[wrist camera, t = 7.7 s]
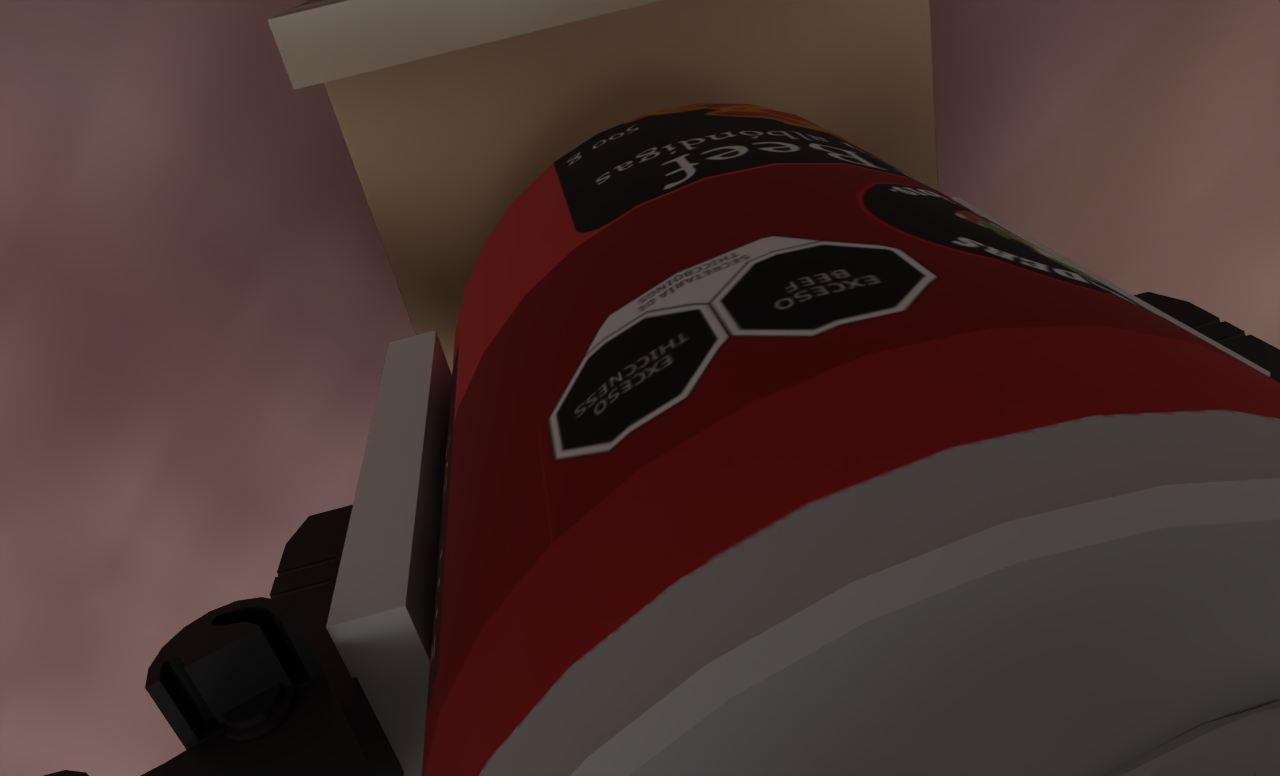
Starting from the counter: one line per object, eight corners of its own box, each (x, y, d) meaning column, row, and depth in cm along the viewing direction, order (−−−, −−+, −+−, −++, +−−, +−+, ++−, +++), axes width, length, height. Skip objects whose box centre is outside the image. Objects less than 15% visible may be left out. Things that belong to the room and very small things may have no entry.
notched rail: (308, 1, 16) (267, 20, 13) (894, -139, 16) (989, -154, 13) (605, 828, 28) (620, 942, 24) (945, 732, 28) (1003, 832, 25)
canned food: (984, 211, 15) (1837, 690, 6) (753, 563, 18) (1066, 1290, 8) (584, -8, 13) (900, 187, 3) (386, 440, 16) (230, 1279, 6)
